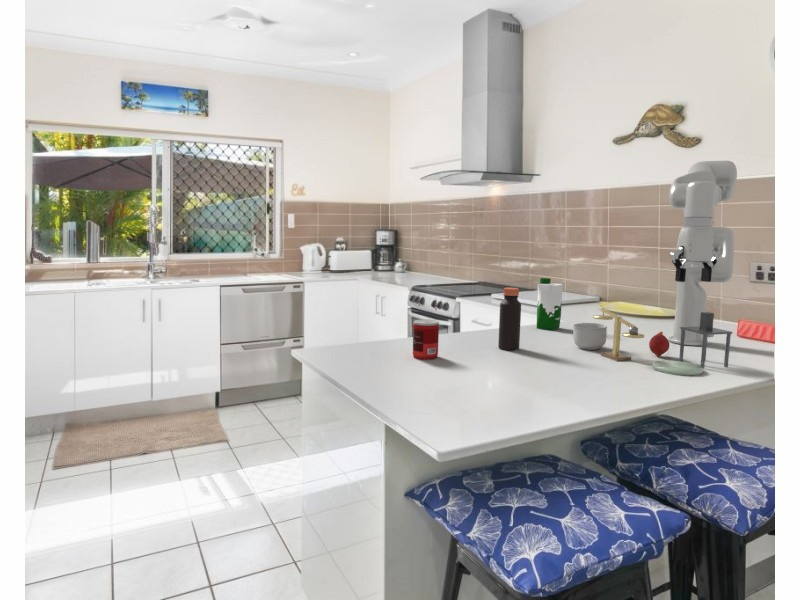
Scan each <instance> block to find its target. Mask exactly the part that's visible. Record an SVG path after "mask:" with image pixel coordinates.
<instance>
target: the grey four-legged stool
mask: <svg viewBox="0 0 800 600" xmlns="http://www.w3.org/2000/svg"><path fill="white" fill-rule="evenodd" d="M714 317H715V313H714V312H710V311H709V312H708V311H705V312H701V318H700V326H698V327H681V328H680V329H682V332H681V344H679V345H680V347H679V348H680V349H679V357H678V358H679V359H678V361H681V362H684V352H685V351H684V350H685V349H684V348H685V345H684V340H685V330H687V331H691V332H695V333H699V334H703V343H702V346H701V347H702V348H701V356H700V359H701V360H700V366H701V367H703V370H704V369H705V363H706V361H707V360H706V359H707V358H706V357H707V349H708V348H707V347H708V346H707V345H708V344H707V341H708V338H709V337H708V335H714V336H715V335H726V338H725V349H724V350H725V351H724V361H723V367H724V368H728V367H729V358H730V357H729V356H730V346H731V336H732V334H733V331H731V330H725V329H722V328H717V327H713V326H714Z"/></svg>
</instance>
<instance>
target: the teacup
mask: <svg viewBox="0 0 800 600" xmlns="http://www.w3.org/2000/svg"><path fill="white" fill-rule="evenodd" d="M572 328H573V329H572V333H573V334H572V335H573V336H572V337H573V342H574V345H576V346H577V348H579V349H581V350H588V351H590V350H592V351H593V350H594V351H596V350H600V349H601V348H602V347H604V346H605V344H606V343H607V333H608V332H607V331H608V330H607V329H608V326H607V324H605V323H604V324H603V323H598V322H580V323H574V324H573V325H572Z"/></svg>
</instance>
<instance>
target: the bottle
mask: <svg viewBox="0 0 800 600" xmlns="http://www.w3.org/2000/svg"><path fill="white" fill-rule="evenodd" d="M519 294H520V289H519V287H518V288H517V287H504V288H503V297H504V298H503V300H502V301H501V302H500V303H499V321H498V322H499V325H498V345H497V346H498V349H500V350H503V351H508V352H509V351H518V350H519V349H520V341H521V338H520V336H521V320H522V319H521V316H522V315H521V314H522V303H521V302H520V301H519V300H518V297H519Z"/></svg>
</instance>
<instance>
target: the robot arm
mask: <svg viewBox="0 0 800 600" xmlns="http://www.w3.org/2000/svg"><path fill="white" fill-rule="evenodd" d="M737 177H738V170H737V166H736V164H735V163H734V162H733V161H732V160H704V161H703V160H702V161H698V162H695V163H693V164H692V165H691V166H690V167H689V170H688V171H687V174H684V175H681V176H678V177H677V178H675V179H674V180H673V181H672V183H671V185H670V188H669V191H668V193H669V194H668V201H669V204H670V206H671V207H672V208H674V209H675V208H676V209H681V210H682V213H683V216H684V217H683V226H682V227H683V228H682V227H681V228H680V231H679V234H678V238H677V242H676V243H677V244H676V249H675V250H674V251H672V252H670V255H669V256H670V258H671V262H672V264H673V265H674V266H673V267H674V268H675V278H674V279H675V280H674V281H675V282H676V297H675V311H674V324H673V335H672V336H669V337H668V338H667V339H668V341H669V343H673V344H677V345H680V344H681V332H682V329H680V328H681V327H698V326H700V318H701V312H706V306H707V296H708V295H707V292H706V290H705V289H704V288H703V286H702V285H701V284H700V283H704V282H705V283H728V282H729V281H730V280H731V279H732V276H733V271H734V270H733V269H734V256H735V255H734V254H735V253H734V251H735V250H734V249H735V235H734V232H733V230H732V229H731V228H729V227H725V226H713V225H714V208H715V207H717V206H718V205H719V203H720V202H727V201H730V200H731V199H732V198H733V197H734V194H735V191H736V190H735V189H736V184H737ZM713 337H715V334H714V335H708V337H707V338H713ZM702 343H703V334H699V333H695V332H691V331H687V330H685V340H684V346H695V347H697V346H699V347H700V346H701V347H702ZM708 344H709V342H708V340H707V345H708Z"/></svg>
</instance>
